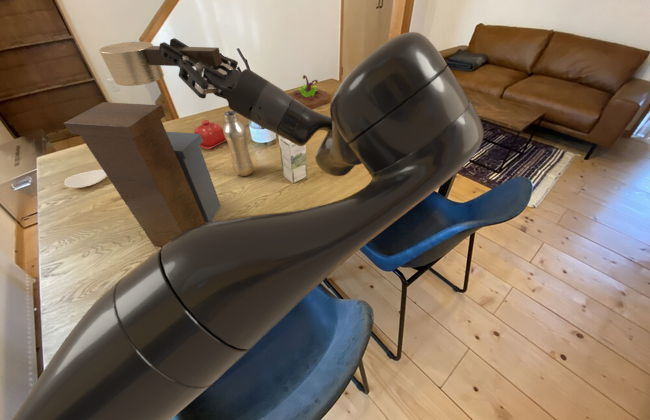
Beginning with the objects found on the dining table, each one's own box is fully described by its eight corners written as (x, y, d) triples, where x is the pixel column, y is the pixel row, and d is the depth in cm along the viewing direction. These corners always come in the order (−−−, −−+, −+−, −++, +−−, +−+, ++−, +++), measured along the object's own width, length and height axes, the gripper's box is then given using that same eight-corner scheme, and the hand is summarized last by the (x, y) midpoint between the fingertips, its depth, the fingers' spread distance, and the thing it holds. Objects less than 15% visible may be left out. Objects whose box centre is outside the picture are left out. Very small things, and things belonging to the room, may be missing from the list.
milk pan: (213, 89, 45) (203, 55, 42) (104, 84, 47) (87, 52, 44) (232, 74, 51) (225, 43, 47) (134, 70, 53) (121, 41, 50)
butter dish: (208, 152, 100) (200, 130, 94) (190, 143, 105) (182, 122, 99) (233, 140, 106) (228, 119, 101) (215, 132, 112) (209, 111, 106)
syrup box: (297, 169, 91) (293, 128, 81) (308, 177, 88) (305, 135, 78) (282, 176, 89) (277, 134, 79) (293, 184, 85) (288, 142, 75)
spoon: (180, 164, 94) (177, 155, 92) (68, 196, 82) (60, 187, 79) (175, 152, 100) (172, 144, 98) (69, 181, 87) (62, 172, 85)
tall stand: (194, 252, 66) (129, 127, 44) (148, 247, 67) (63, 122, 45) (211, 226, 72) (161, 105, 51) (169, 221, 74) (103, 102, 52)
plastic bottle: (240, 181, 87) (224, 120, 73) (231, 171, 90) (214, 112, 77) (258, 173, 90) (246, 114, 76) (248, 164, 93) (235, 106, 80)
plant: (312, 90, 146) (311, 67, 138) (336, 100, 135) (337, 76, 127) (280, 99, 136) (277, 75, 129) (304, 111, 125) (302, 86, 118)
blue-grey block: (212, 224, 73) (182, 151, 58) (170, 220, 74) (130, 147, 59) (224, 204, 78) (200, 133, 64) (185, 201, 80) (153, 130, 65)
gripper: (280, 71, 52) (190, 15, 48) (255, 99, 42) (139, 31, 38) (266, 105, 57) (184, 56, 53) (241, 137, 47) (137, 80, 43)
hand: (166, 46), depth 45 cm, fingers closed on milk pan, 2 cm apart
